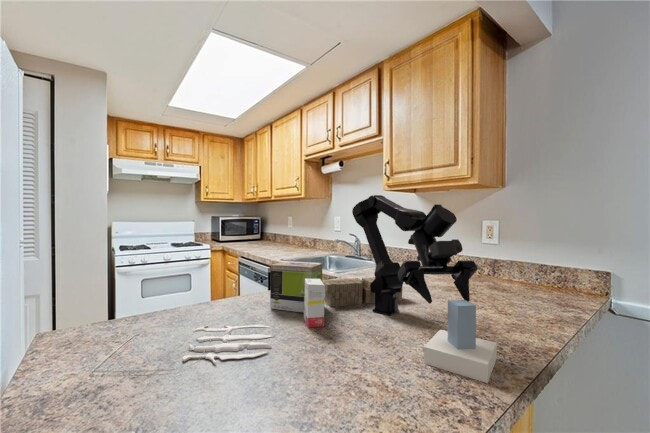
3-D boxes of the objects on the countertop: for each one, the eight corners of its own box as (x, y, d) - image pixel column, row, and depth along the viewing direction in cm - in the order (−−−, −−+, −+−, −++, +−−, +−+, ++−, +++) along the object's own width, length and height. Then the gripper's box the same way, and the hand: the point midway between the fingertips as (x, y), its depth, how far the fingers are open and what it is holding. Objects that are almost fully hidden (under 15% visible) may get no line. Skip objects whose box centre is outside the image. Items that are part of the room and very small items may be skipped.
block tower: (391, 297, 116) (319, 301, 107) (392, 276, 116) (320, 277, 107) (402, 303, 109) (326, 307, 100) (403, 280, 109) (327, 282, 100)
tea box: (322, 305, 102) (323, 262, 101) (312, 315, 92) (312, 267, 92) (283, 300, 106) (283, 259, 106) (269, 309, 97) (269, 263, 97)
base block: (423, 365, 63) (423, 346, 63) (440, 345, 72) (440, 329, 72) (487, 385, 56) (487, 364, 56) (496, 360, 65) (496, 342, 65)
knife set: (273, 367, 60) (273, 361, 60) (82, 378, 56) (82, 371, 56) (275, 324, 86) (275, 320, 86) (145, 328, 81) (145, 324, 81)
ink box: (324, 327, 82) (325, 284, 82) (306, 328, 81) (307, 284, 81) (319, 316, 90) (320, 277, 90) (303, 317, 90) (304, 278, 90)
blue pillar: (457, 349, 62) (457, 306, 62) (447, 341, 66) (447, 300, 66) (475, 348, 62) (475, 305, 62) (464, 340, 66) (464, 299, 66)
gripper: (403, 227, 72) (423, 284, 61) (474, 228, 75) (505, 282, 64) (390, 255, 80) (406, 309, 69) (455, 255, 83) (480, 307, 72)
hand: (449, 302), depth 68 cm, fingers open, 9 cm apart
